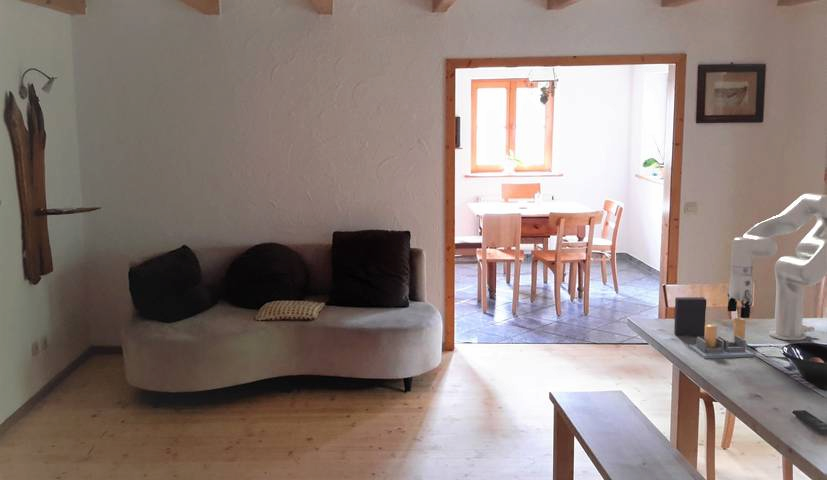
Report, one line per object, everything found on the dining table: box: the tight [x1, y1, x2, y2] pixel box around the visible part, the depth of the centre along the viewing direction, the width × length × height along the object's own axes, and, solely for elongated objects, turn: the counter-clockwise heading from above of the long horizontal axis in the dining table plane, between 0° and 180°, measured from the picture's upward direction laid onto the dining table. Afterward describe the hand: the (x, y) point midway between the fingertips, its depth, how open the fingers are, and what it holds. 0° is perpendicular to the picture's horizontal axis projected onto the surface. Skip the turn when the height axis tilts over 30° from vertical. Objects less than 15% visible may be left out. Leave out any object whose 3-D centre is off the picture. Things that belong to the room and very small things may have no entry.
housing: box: [688, 323, 755, 359], centre depth 256 cm, size 18×13×10 cm
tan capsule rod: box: [732, 317, 746, 342], centre depth 266 cm, size 4×4×9 cm
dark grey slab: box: [673, 296, 707, 337], centre depth 277 cm, size 11×4×15 cm, turn 84°
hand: (738, 314), depth 265 cm, fingers open, 9 cm apart
